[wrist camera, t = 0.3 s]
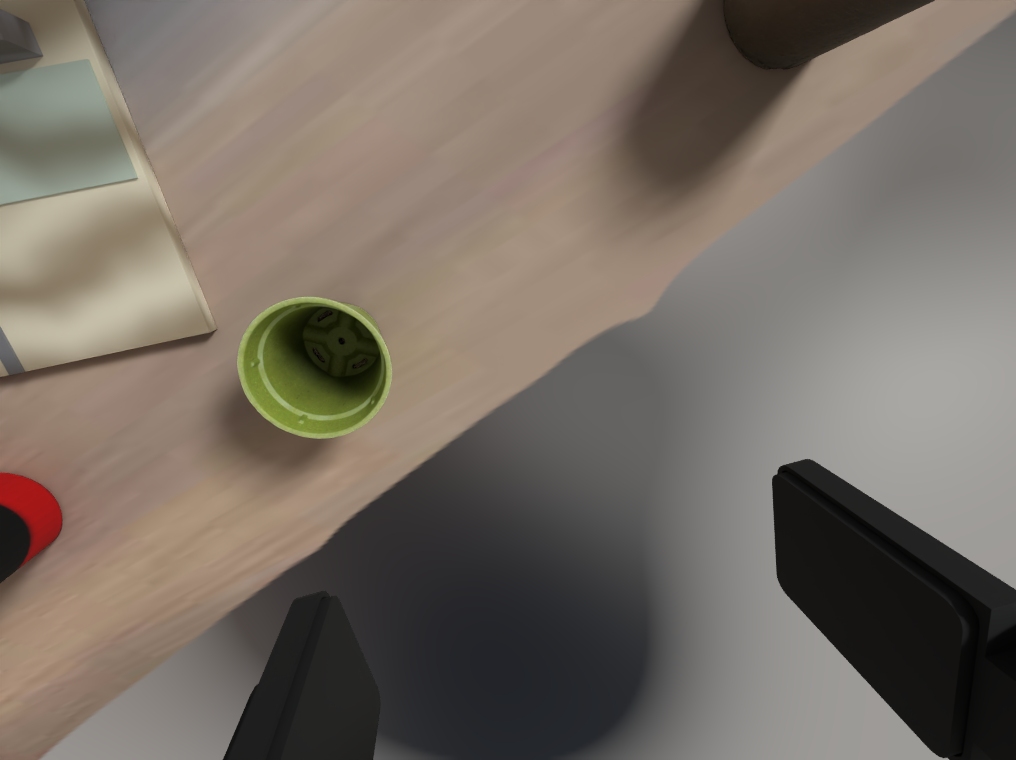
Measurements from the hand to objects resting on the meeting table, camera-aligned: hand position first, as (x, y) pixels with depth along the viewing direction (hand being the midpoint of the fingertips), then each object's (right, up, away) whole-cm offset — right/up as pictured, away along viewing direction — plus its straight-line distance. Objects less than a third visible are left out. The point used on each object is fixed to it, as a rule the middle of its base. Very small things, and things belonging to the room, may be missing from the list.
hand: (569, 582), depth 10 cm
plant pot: (-15, +7, +29) cm, 33 cm away
